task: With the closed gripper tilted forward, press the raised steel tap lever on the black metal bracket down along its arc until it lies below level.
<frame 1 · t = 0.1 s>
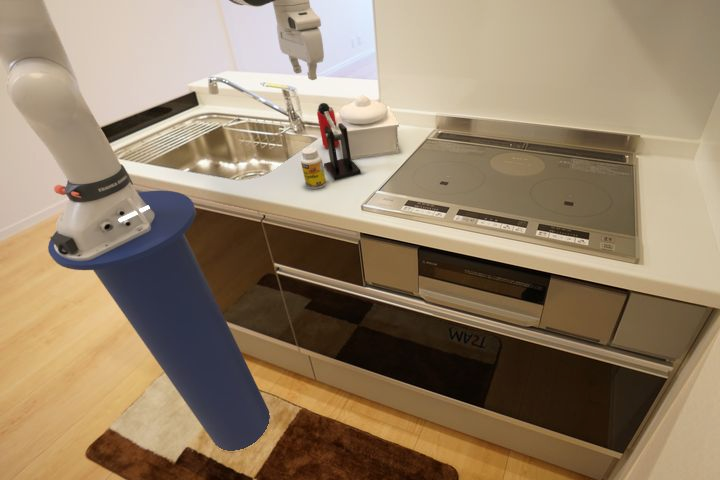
hand: (305, 76, 112), 24 cm above the worktop, tool pointing down, fingers open, 8 cm apart
supplement bottle: (316, 185, 115), on the worktop
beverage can: (331, 147, 135), on the worktop
white box with dome: (368, 145, 134), on the worktop
tap lever: (329, 120, 116), point 13 cm above the worktop, hinge at 25.0°
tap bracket: (342, 170, 121), on the worktop
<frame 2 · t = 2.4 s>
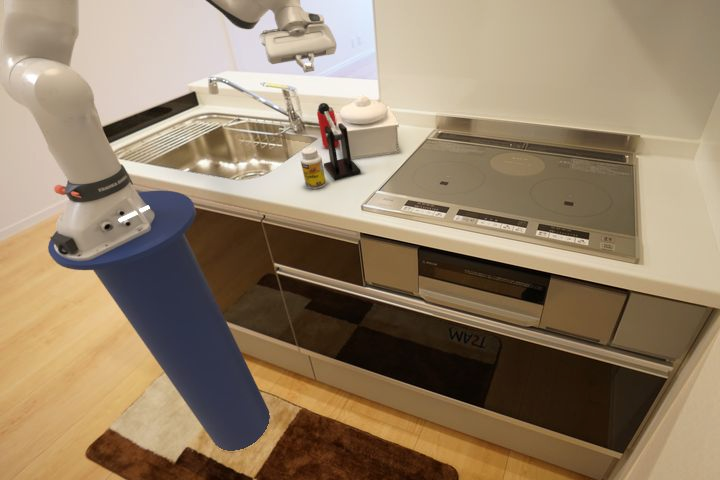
hand: (309, 70, 118), 24 cm above the worktop, tool tilted 45°, fingers closed
nothing on the worktop moved.
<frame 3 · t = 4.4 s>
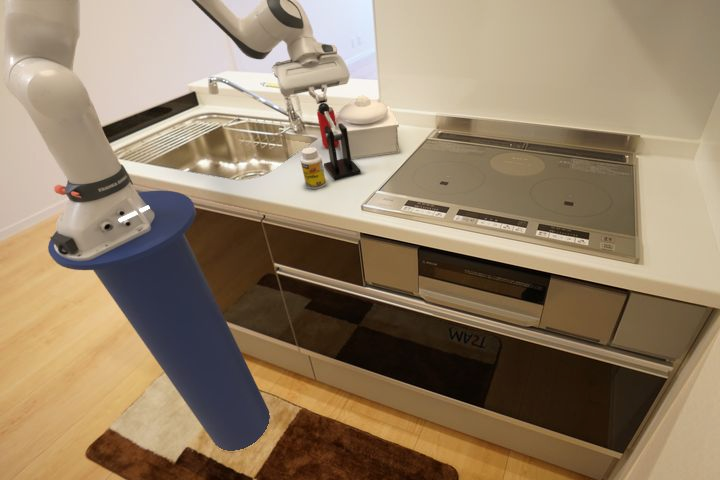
hand: (322, 102, 117), 17 cm above the worktop, tool tilted 45°, fingers closed, pressing on tap lever
tap lever: (329, 121, 116), point 13 cm above the worktop, hinge at 24.8°, touching gripper
everything else where it was.
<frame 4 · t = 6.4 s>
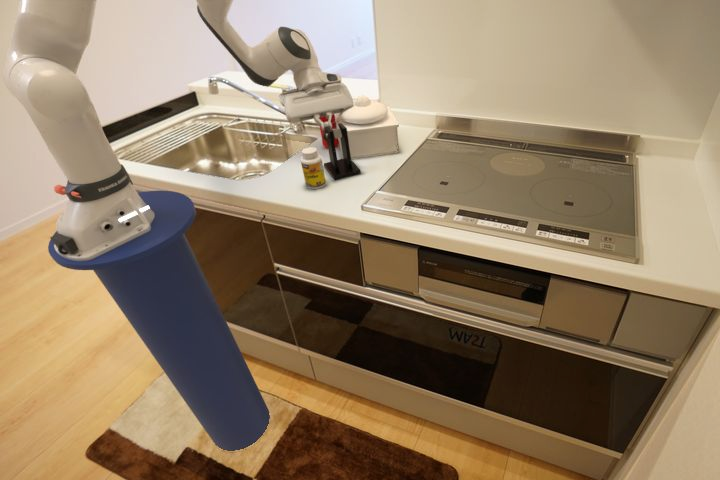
hand: (327, 129, 121), 9 cm above the worktop, tool tilted 45°, fingers closed, pressing on tap lever
tap lever: (332, 135, 118), point 9 cm above the worktop, hinge at -22.3°, touching gripper
everything else where it was.
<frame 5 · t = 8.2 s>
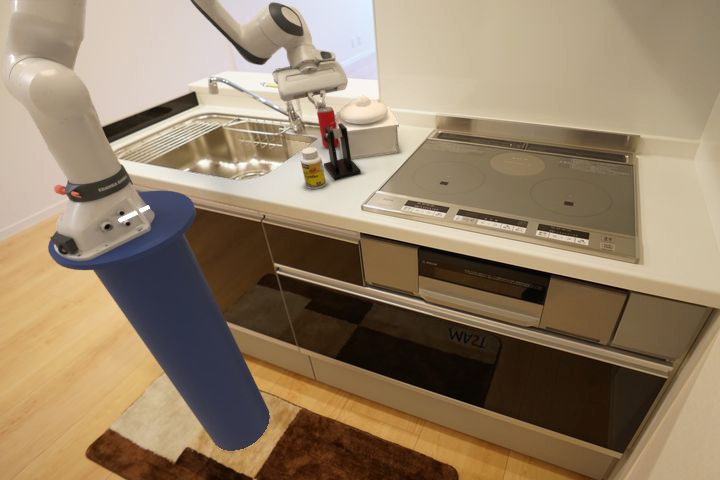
hand: (321, 107, 120), 15 cm above the worktop, tool tilted 45°, fingers closed
tap lever: (332, 136, 118), point 9 cm above the worktop, hinge at -25.5°
everything else where it was.
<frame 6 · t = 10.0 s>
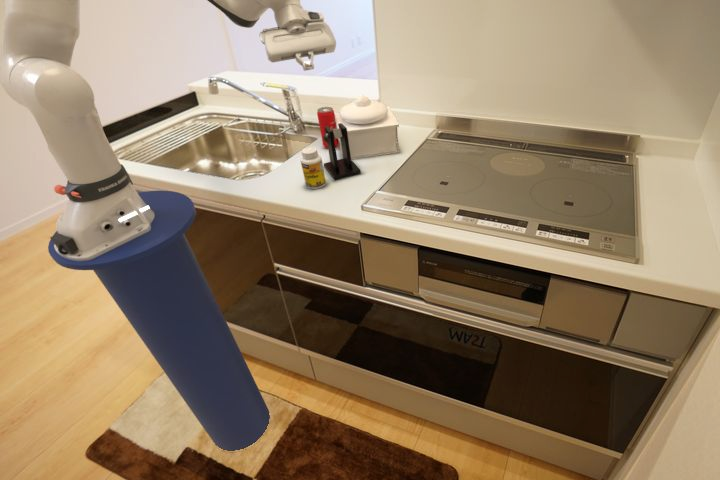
hand: (309, 68, 119), 24 cm above the worktop, tool tilted 45°, fingers closed
nothing on the worktop moved.
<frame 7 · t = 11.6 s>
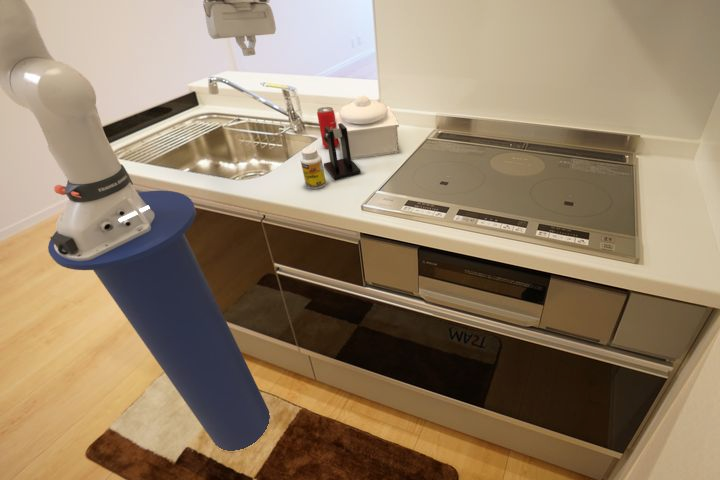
hand: (249, 55, 115), 29 cm above the worktop, tool pointing down, fingers closed
nothing on the worktop moved.
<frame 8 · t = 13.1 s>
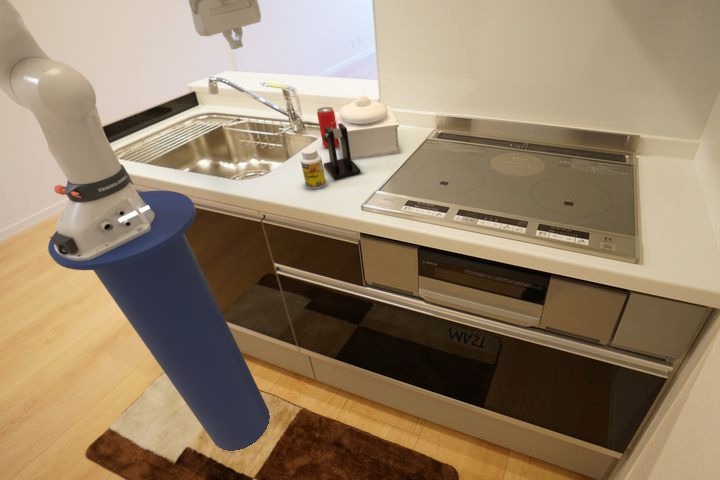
hand: (237, 48, 112), 31 cm above the worktop, tool pointing down, fingers closed
nothing on the worktop moved.
at the end: tap lever at -26° (first picture: +25°); the gripper is holding nothing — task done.
